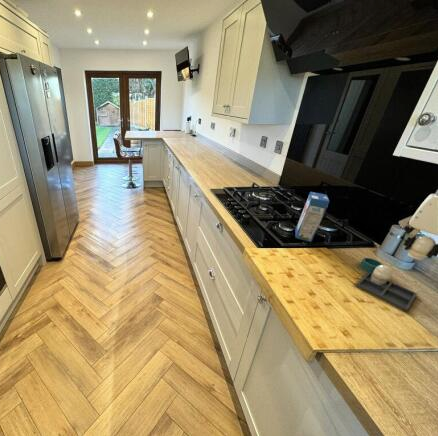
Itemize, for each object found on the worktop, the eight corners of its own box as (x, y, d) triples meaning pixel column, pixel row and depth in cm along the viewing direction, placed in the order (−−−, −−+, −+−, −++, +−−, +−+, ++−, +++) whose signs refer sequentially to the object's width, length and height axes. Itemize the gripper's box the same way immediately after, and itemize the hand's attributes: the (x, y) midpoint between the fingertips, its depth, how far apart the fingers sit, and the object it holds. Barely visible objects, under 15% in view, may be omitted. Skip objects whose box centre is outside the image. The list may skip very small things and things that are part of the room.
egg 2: (426, 258, 70) (440, 238, 67) (423, 262, 68) (438, 242, 65) (406, 251, 73) (419, 231, 70) (403, 255, 71) (416, 235, 68)
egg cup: (381, 271, 89) (386, 264, 87) (376, 277, 85) (381, 269, 84) (361, 263, 93) (366, 255, 91) (356, 268, 90) (360, 260, 88)
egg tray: (414, 297, 77) (417, 293, 76) (404, 313, 70) (407, 309, 70) (367, 275, 86) (369, 271, 85) (354, 287, 80) (356, 283, 79)
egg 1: (385, 283, 81) (396, 267, 78) (382, 288, 79) (393, 271, 76) (370, 276, 84) (380, 261, 81) (366, 280, 82) (376, 264, 79)
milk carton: (311, 242, 105) (329, 201, 96) (295, 238, 107) (311, 198, 98) (309, 233, 113) (326, 194, 104) (295, 229, 115) (310, 191, 106)
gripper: (511, 203, 58) (462, 263, 66) (416, 183, 70) (384, 236, 78) (511, 209, 54) (459, 272, 62) (410, 187, 66) (377, 242, 74)
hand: (418, 252), depth 70 cm, fingers closed on egg 2, 4 cm apart
